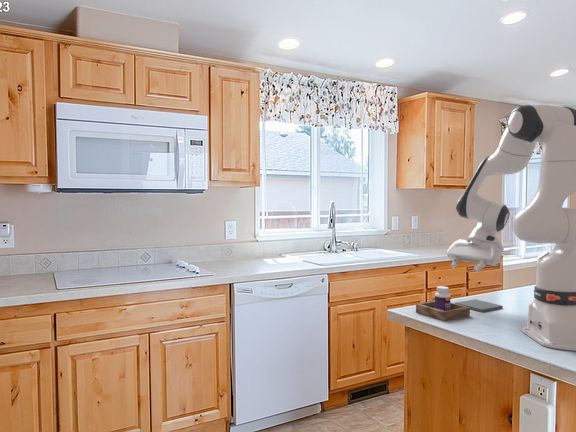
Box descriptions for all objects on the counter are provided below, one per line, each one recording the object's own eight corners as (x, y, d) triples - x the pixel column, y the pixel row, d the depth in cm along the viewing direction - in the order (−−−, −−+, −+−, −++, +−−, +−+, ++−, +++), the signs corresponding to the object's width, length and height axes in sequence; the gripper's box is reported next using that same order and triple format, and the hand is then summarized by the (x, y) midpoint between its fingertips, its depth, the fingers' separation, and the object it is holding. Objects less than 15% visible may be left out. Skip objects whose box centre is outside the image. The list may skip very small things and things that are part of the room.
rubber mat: (502, 308, 165) (502, 305, 165) (481, 312, 159) (481, 309, 159) (475, 301, 176) (475, 299, 176) (454, 305, 170) (454, 302, 170)
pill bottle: (447, 316, 153) (448, 289, 153) (432, 314, 156) (432, 287, 156) (452, 313, 158) (452, 287, 157) (437, 311, 161) (437, 285, 160)
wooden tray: (469, 315, 154) (469, 307, 154) (444, 320, 148) (444, 312, 148) (440, 307, 166) (440, 299, 166) (415, 312, 160) (415, 303, 159)
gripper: (453, 234, 176) (437, 260, 171) (501, 238, 159) (485, 267, 154) (459, 244, 178) (444, 270, 173) (508, 249, 161) (492, 278, 156)
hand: (464, 269), depth 163 cm, fingers open, 8 cm apart
